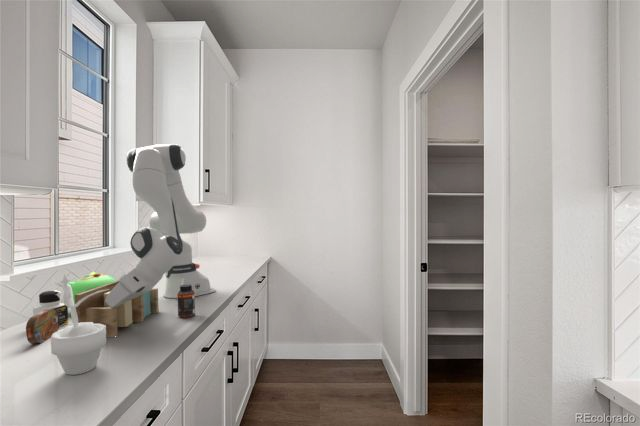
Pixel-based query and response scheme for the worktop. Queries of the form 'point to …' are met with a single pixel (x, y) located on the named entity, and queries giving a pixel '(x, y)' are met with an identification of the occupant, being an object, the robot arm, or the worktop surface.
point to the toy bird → (89, 283)
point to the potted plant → (77, 338)
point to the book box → (122, 312)
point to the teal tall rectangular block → (146, 303)
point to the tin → (42, 326)
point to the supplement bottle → (186, 301)
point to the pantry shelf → (99, 314)
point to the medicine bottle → (52, 305)
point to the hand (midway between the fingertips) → (116, 307)
